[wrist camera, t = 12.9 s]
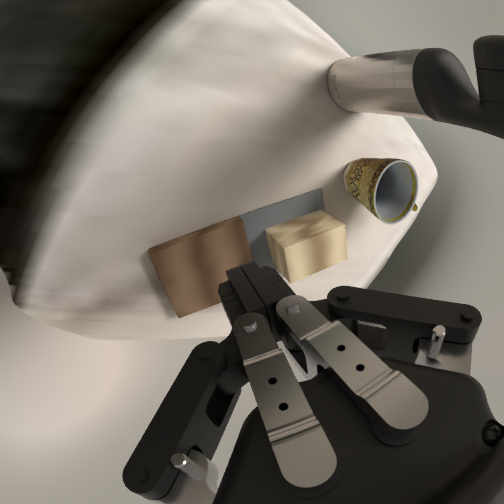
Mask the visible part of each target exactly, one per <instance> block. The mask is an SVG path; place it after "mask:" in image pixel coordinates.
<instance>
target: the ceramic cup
mask: <svg viewBox="0 0 504 504" xmlns="http://www.w3.org/2000/svg"><path fill="white" fill-rule="evenodd" d="M343 180H344V185H345V189H346V191H347V192H348V193H349V194H351V195H352V196H353V197H354V198H356V199H357V200H358V201H359V202H361V203H362V204H363V205H364V206H365V207H366V208H367V209H368V210H369V211H370V212H371V213H372V214H373V215H375V216H376V217H377V218H378V219H380V220H381V221H382V222H384V223H386V224H396V223H398V222H400V221H402V220H403V219H404V218H405V217H406V216H407V215H408V214H409V213H410V211H411V210H413V211H416V210H417V205H416V204H415V201H416V198H417V194H418V178H417V174H416V171H415V169H414V167H413V166H412V165H411V164H410V163H409V162H407V161H405V160H401V159H391V158H385V159H379V158H360V159H358V160H355V161H352V162H350V163H348V165H347V168H346V170H345V172H344V174H343Z"/></svg>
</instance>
